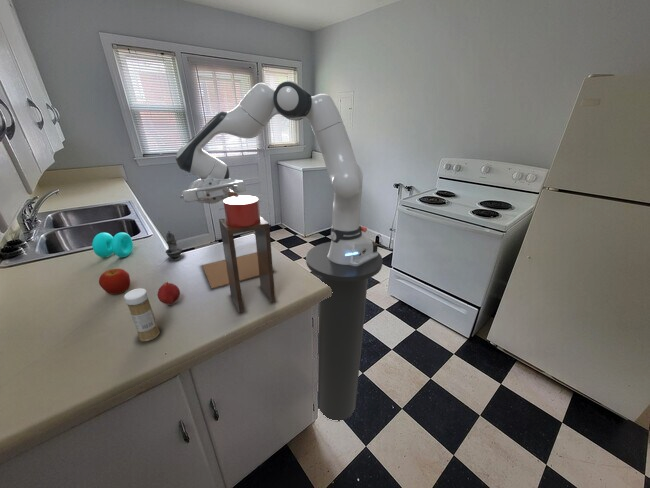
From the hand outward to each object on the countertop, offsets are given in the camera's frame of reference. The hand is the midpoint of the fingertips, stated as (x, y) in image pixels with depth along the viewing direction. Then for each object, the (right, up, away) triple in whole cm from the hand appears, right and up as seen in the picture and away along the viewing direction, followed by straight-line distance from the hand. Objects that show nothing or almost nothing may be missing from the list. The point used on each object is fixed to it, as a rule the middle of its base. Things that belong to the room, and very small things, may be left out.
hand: (222, 191), depth 85 cm
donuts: (-52, -22, +24) cm, 62 cm away
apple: (-35, -32, +2) cm, 47 cm away
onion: (-14, -35, -3) cm, 38 cm away
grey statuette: (-28, -23, +23) cm, 43 cm away
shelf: (+10, -34, 0) cm, 35 cm away
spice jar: (-13, -41, -15) cm, 45 cm away
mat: (0, -26, +16) cm, 31 cm away
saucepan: (+7, -8, -6) cm, 12 cm away
